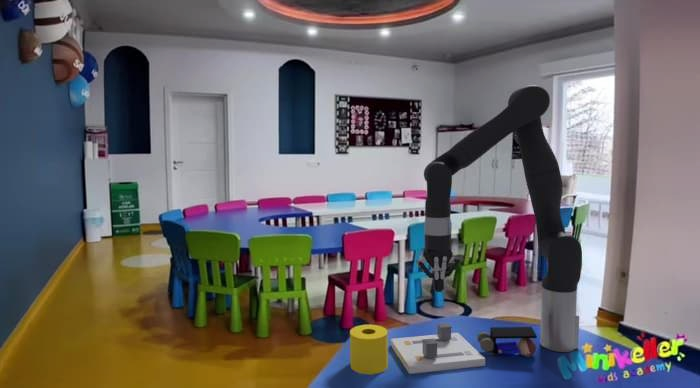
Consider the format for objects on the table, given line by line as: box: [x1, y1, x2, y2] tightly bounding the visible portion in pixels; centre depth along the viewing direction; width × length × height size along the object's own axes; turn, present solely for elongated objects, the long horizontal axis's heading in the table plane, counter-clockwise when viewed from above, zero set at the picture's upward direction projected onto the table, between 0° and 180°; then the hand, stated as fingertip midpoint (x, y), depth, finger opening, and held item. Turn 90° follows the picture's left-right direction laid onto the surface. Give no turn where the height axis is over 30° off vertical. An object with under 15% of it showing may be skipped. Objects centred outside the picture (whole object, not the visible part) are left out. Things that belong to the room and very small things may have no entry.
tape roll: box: [349, 324, 389, 375], centre depth 127 cm, size 10×10×9 cm
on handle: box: [422, 339, 438, 358], centre depth 127 cm, size 3×3×4 cm
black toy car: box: [477, 326, 538, 357], centre depth 132 cm, size 7×8×15 cm
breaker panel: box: [390, 332, 486, 375], centre depth 133 cm, size 21×18×2 cm
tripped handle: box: [436, 322, 452, 340], centre depth 138 cm, size 3×3×4 cm
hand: (438, 291), depth 137 cm, fingers closed
